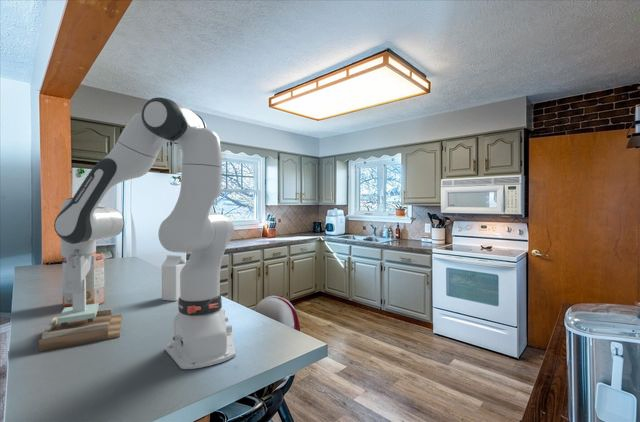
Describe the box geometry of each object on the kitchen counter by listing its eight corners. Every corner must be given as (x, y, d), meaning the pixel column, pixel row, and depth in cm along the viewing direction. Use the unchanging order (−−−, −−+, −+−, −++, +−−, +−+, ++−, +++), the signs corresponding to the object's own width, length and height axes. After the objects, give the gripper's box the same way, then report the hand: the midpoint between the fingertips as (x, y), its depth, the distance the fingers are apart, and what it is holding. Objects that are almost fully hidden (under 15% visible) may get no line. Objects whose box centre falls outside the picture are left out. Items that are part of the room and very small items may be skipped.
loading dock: (119, 337, 96) (119, 322, 96) (38, 351, 86) (38, 335, 86) (121, 318, 111) (121, 306, 111) (53, 329, 102) (53, 315, 102)
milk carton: (176, 301, 132) (175, 257, 131) (161, 300, 133) (161, 256, 133) (186, 296, 139) (186, 254, 138) (172, 295, 140) (172, 253, 140)
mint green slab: (95, 322, 96) (94, 281, 95) (57, 328, 91) (57, 284, 91) (98, 312, 105) (98, 274, 105) (65, 317, 100) (64, 277, 100)
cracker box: (105, 302, 130) (105, 253, 129) (93, 307, 124) (93, 255, 123) (75, 301, 131) (74, 252, 131) (61, 306, 125) (61, 254, 125)
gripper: (86, 251, 90) (87, 298, 90) (94, 244, 108) (95, 283, 108) (59, 253, 87) (59, 301, 87) (71, 245, 104) (72, 285, 105)
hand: (79, 291), depth 98 cm, fingers closed on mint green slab, 3 cm apart
